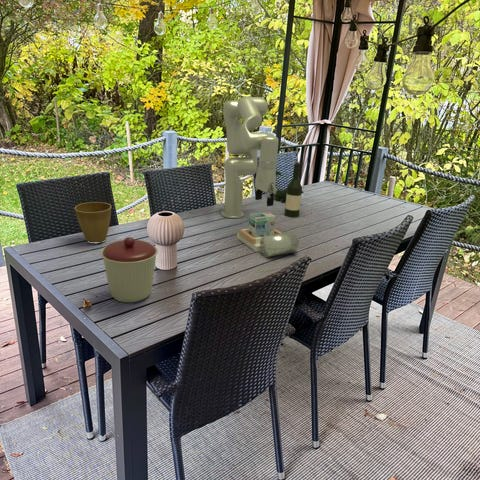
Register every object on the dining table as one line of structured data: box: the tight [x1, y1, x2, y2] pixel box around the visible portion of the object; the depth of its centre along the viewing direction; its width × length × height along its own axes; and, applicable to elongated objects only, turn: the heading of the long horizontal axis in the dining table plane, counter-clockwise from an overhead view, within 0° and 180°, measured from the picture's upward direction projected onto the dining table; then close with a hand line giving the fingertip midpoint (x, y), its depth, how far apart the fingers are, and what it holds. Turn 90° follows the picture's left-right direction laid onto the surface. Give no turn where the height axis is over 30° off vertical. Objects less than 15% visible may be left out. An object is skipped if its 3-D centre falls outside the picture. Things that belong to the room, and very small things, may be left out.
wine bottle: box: [284, 161, 303, 219], centre depth 232 cm, size 8×8×30 cm
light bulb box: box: [248, 211, 277, 238], centre depth 194 cm, size 11×7×11 cm, turn 118°
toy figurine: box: [274, 170, 305, 203], centre depth 260 cm, size 9×19×25 cm
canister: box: [100, 236, 159, 303], centre depth 140 cm, size 18×18×21 cm
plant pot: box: [74, 201, 112, 242], centre depth 183 cm, size 15×15×16 cm
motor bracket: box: [236, 227, 299, 258], centre depth 191 cm, size 28×18×9 cm, turn 29°
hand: (264, 202), depth 190 cm, fingers open, 9 cm apart
